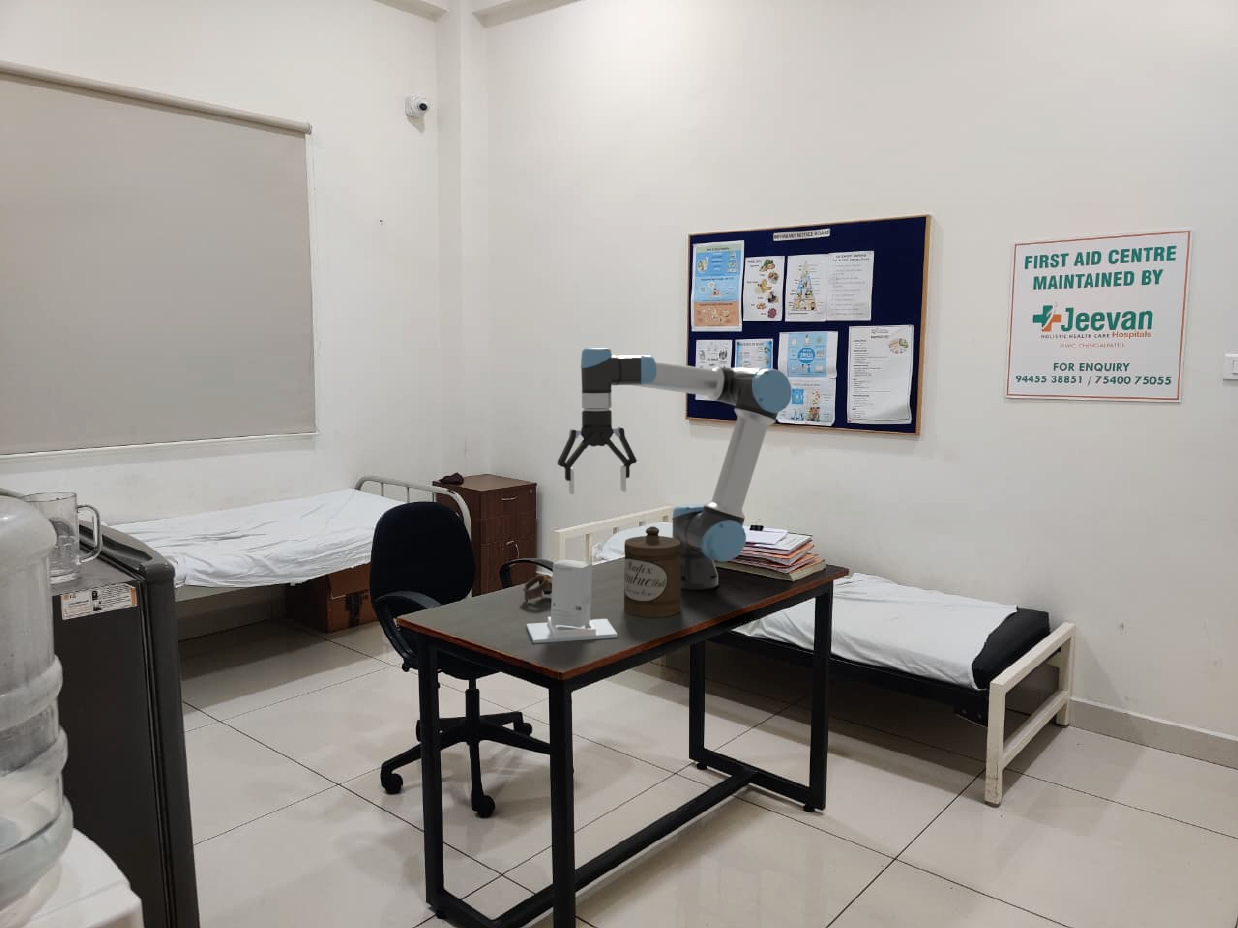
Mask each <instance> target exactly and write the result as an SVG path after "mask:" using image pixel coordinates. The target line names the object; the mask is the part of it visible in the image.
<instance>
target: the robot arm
mask: <svg viewBox="0 0 1238 928" xmlns="http://www.w3.org/2000/svg"><path fill="white" fill-rule="evenodd" d="M580 360H581V361H580V369H581V370H580V371H581V372H580V373H581V408H582V409H583V410H582V411H581V423H582V424H581V428H580V429H574V428H571V429H570V430H569V433H568V435H569V437H568V440H566V443H565V446H564V448H563V449H562V452H561V453H560V456H559V458H558V460H557V465H558V466H560V467H563V468H564V480H565V481H567V482H568V493H569V494H570V495H575V469H574V468H573V465H574V464H575V463H576V461H577V460H578V459H579V457H580V456H581V455H582V454H583V453H584V452H585V450H586V449H587V448H588V447H589V446H590V447H598V446H600V447H605V446H606V445H607V447H608V448H609V449H610V450H611V451H612V452H613V453H614V455H615V456H616V457H617V458H618V459H619V460H620V461H621V463H622V464H620V466H619V467H620V471H619V472H620V473H619V475H620V491H621V492H627V479H629V478H630V476H631V475H630V471H631V470H630V467H631V465H632V464H636V463H637V462H638V460H637V458H636V456H635V454H634V452H633V450H632V448H631V446H630V444H629V441H628V440H627V437H626V436H625V429H624V427H621V426H619V427H617V428H613V421H612V419H613V417H612V415H613V414H612V410H610V409H611V408H612V406H613V405H612V404H613V403H612V386H635V387H640V388H642V387H643V388H648V389H649V388H650V389H656V390H662V391H663V390H664V391H670V392H678V393H685V394H692V395H700V396H705V397H708V399H709V400H711V401H716V402H721V403H725V404H727V405H728V404H729V405H732V406H735V407H734V410H733V411H734V413H735V414H736V416H737V419H736V421H735V424H734V428H733V431H732V435H731V438H730V440H729V441H730V442H729V444H728V447H727V451H726V454H725V456H724V461H723V463H722V467H721V470H720V472H719V477H718V479H717V482H716V486H715V488H714V492H713V494H712V495H713V496H712V498H711V500H710V501H709V502H707V503H705V504H685V505H684V504H683V505H678V506H675V507H674V509H673V511H672V517H671V520H672V538H675V539H677V540H679V541H680V567H681V590H690V591H692V590H693V591H701V590H709V589H713V588H715V587H717V586H718V585H719V574H718V571H717V569H716V564H715V561H716V562H717V561H718V562H728V561H732V560H733V559H735V558H736V557H737V556H739V555H740V554H741V553H742V551H743V550H744V547H745V545H746V542H747V533H746V532H745V529H744V527H743V526H744V522H745V520H746V519H745V518H746V516H745V515H744V513H743V508H744V507H743V506H744V504H745V500H746V498H747V495H748V494H747V493H748V491H749V488H750V484H751V481H752V478H753V476H754V473H755V472H754V471H755V469H756V465H757V463H758V459H759V456H760V453H761V449H762V447H763V443H764V440H765V438H766V434H767V430H768V428H769V426H771V425H773V424H775V423H776V422H777V421H776V420H777V417H778V414H779V413H780V412H782V411H783V410H785V409H786V408H787V407H788V406H789V404H790V402H791V400H792V392H793V390H792V385H791V383H790V381H789V378H788V377H787V374H785V373H784V372H782V371H780V370H778V369H775V368H772V367H771V368H770V367H768V366H767V367H752V366H751V367H750V366H744V367H722V366H714V367H713V368H705V367H698V366H692V365H685V364H684V365H683V364H678V363H672V362H671V363H670V362H664V361H659V360H655V358H654V357H653V356H651V355H645V354H644V355H643V354H640V355H639V354H635V355H634V354H630V355H628V354H613V353H612V350H611V348H608V347H599V348H598V347H592V348H591V347H589V348H587V347H586V348H584V349H583V350H582V352H581V359H580ZM614 434H615V436H616V437H618V440H619V441H620V444H621V446H622V448H623V450H624V452H625V453H626V455H627V457H626V456H625V455H624V454H623V453H622V451H620V449H619V448H618V447H617V446H616V444H615V443H614V442H613V440H611V438H612V437H613V435H614ZM579 436H581V437H582V438H583V439H582V441H581V442H580V443H579V444H578V447H576V449H575V450H574V451H573V453H572V454H571V455H570V453H571V450H572V448H573V446H574V445H575V441H576V439H578V438H579ZM569 455H570V457H569ZM568 457H569V458H568Z"/></svg>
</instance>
